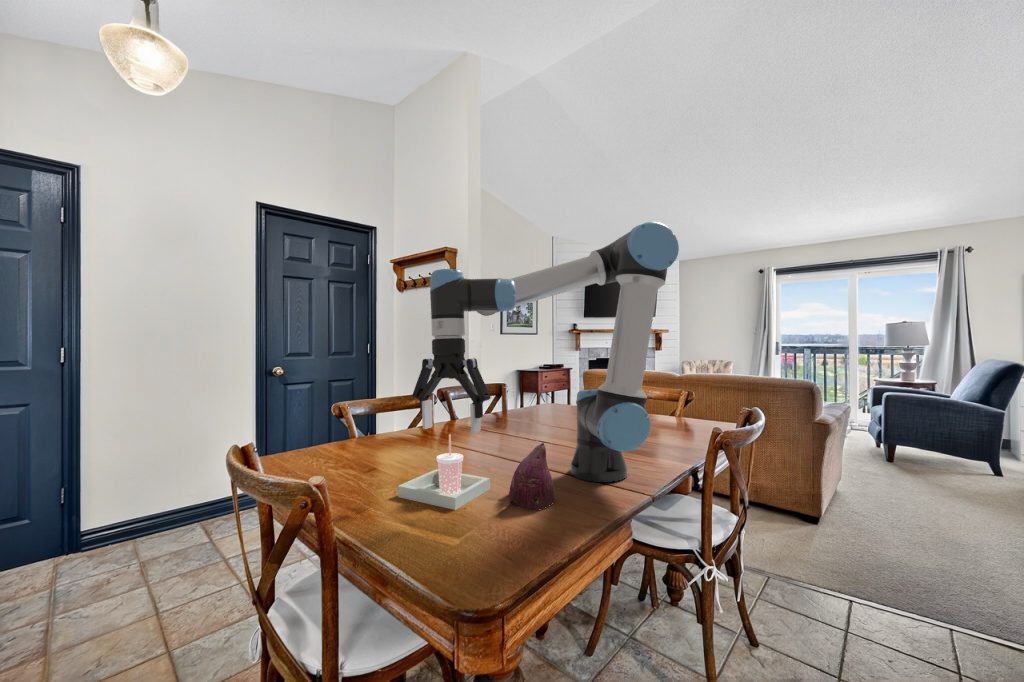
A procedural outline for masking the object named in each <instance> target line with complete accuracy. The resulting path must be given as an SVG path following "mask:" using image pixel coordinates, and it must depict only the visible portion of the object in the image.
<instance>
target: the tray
mask: <svg viewBox="0 0 1024 682" xmlns="http://www.w3.org/2000/svg"><path fill="white" fill-rule="evenodd" d="M436 473H439V472H438V468H436V469H434V470H431V471H429V472H426V473H424V474H422V475H420V476H417V477H415V478H413V479H411V480H409V481H406V482H404V483H402V484H399V485H398V486H397V497H398V498H400V499H405V500H409V501H413V502H418V503H422V504H426V505H431V506H435V507H440V508H444V509H448V510H449V509H450V510H453V511H457V510H458V509H460V508H461V507H463V506H464V505H466V504H468V503H469V502H471V501H473V500H474V499H476V498H477V497H479V496H481V495H483V494H484V493H485V492H487V491H490V489H491V479H490V478H489V477H484V476H480V475H479V476H478V475H473V474H467V473H462V474H461V492H459V493H457V494H455V495H451V494H446V493H441V492H440V487H439V486H436V485H435V484H434V483H433V477H434V475H435V474H436Z"/></svg>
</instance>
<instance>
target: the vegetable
mask: <svg viewBox="0 0 1024 682" xmlns="http://www.w3.org/2000/svg"><path fill="white" fill-rule="evenodd" d="M547 462H548V461H547V449H546V445H545V442H542V443H540V444H538V445H536V446H535V447H534V448H533V449H532V450H531V452H529V454H527V455H526V456H525V457H524V458H523V459H522V460H521V462H520V463H519V464H518V465H517V467H516V469H515V470H514V473H513V476H512V478H511V482H510V486H509V492H508V498H509V499H510V501H509V503H510V504H511V505H512V506H513V507H515V508H517V507H518V509H521V508H522V509H521V510H525V509H526V511H534V510H535V511H540V510H539V509H542V510H544V509H543V508H545V507H548V506H549V505H551V504H552V503H553V502H554V501H555V490H554V489H555V488H554V482H553V479H552V475H551V472H550V469H549V466H548V463H547ZM554 503H555V502H554ZM554 503H553V504H554ZM551 506H552V505H551ZM549 507H550V506H549ZM549 507H548V508H549ZM545 509H546V508H545Z"/></svg>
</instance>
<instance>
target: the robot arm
mask: <svg viewBox="0 0 1024 682" xmlns="http://www.w3.org/2000/svg"><path fill="white" fill-rule="evenodd" d="M679 245H680V244H679V241H678V238H677V237H676V234H675V233H674V232H673V230H672V229H671V228H670V227H668V226H667V225H666V224H664V223H661V222H658V221H647V222H644V223H642V224H638V225H636V226H635V227H633V228H632V229H631V230H630V231H629V232H627V233H625V234H624V235H622V236H620V237H618V238H617V239H615V240H614V241H613V242H611V243H610V244H607V245H606V246H604V247H601V248H599V249H595V250H592V251H591V252H590V253H589V255H588V256H584V257H582V258H578V259H574V260H570V261H567V262H564V263H561V264H558V265H554V266H550V267H547V268H543V269H540V270H536V271H533V272H530V273H526V274H522V275H518V276H515V277H512V278H501V277H498V278H472V279H471V278H465V277H464V273H463V271H462V270H459V269H457V268H456V269H454V268H453V269H452V268H441V269H436V270H433V271H432V273H431V274H430V283H429V284H430V289H429V297H430V317H431V318H430V319H431V336H432V337H433V338H434V339H432V340H431V353H432V355H433V359H432V358H423V359H422V362H421V363H422V364H421V369H420V373H419V376H418V377H417V380H416V384H415V386H414V389H413V391H412V397H413V398H414V399H417V400H418V401H419V412H420V414H421V416H422V418H421V419H422V420H421V421H422V429H423V430H427V429H430V428H433V400H432V399H431V396H432V394H433V393H434V391H435V390H436V388H437V387H438V385H439V384H440V382H441V380H442V379H449V380H450V379H455V380H456V381H458V383H459V385H460V386H461V388H463V390H464V391H465V393H466V394H467V395H468V397H469V399H470V400H471V402H472V403H470V407H469V409H470V410H469V411H470V434H471V435H474V434H477V433H480V432H481V418H483V416H484V411H483V410H484V408H483V407H484V405H483V404H484V402H486V401H489V400H490V399H491V394H490V392H489V390H488V388H487V386H486V383H485V381H484V378H483V377H482V374H481V373H480V370H479V367H478V359H477V358H475V357H473V358H467V359H465V358H466V357H465V354H466V339H465V338H463V337H464V336H465V334H466V331H465V326H466V325H465V312H476V313H478V314H480V315H481V316H484V317H485V316H486V317H487V316H488V317H489V316H492V315H495V314H497V313H499V312H506V311H507V312H508V311H509V312H510V311H512V310H514V309H515V308H516V307H520V306H523V305H525V304H529V303H533V302H536V301H539V300H543V299H547V298H550V297H553V296H556V295H557V296H558V295H560V294H564V293H568V292H571V291H573V290H577V289H580V288H584V287H588V286H592V285H595V284H597V285H598V286H604V285H607V284H611V283H616V282H617V283H618V284H619V285H620V287H619V288H620V289H619V295H618V302H617V307H616V314H615V319H614V327H613V334H612V337H611V338H612V339H611V344H610V352H609V356H608V357H609V358H608V363H607V369H606V375H605V376H606V377H605V382H604V383H602V384H601V385H600V386H598V387H597V389H582V390H579V391H578V392H577V394H576V401H575V405H576V447H575V450H574V453H573V456H572V460H571V462H570V474H571V475H572V476H573V477H575V478H577V479H580V480H583V481H587V482H594V483H595V482H596V483H612V481H615V482H619V481H618V480H620V481H623V480H624V478H625V479H626V478H627V477H628V465H627V463H626V460H625V459H626V458H625V456H624V453H626V452H628V453H629V452H632V451H635V450H637V449H638V448H640V447H641V446H643V445H644V443H646V441H647V440H648V438H649V436H650V433H651V428H652V422H651V418H650V417H651V416H650V415H649V413H648V412H647V410H646V408H647V400H648V396H647V394H646V393H645V391H644V390H643V382H644V375H645V368H646V365H647V357H648V350H649V344H650V339H651V338H650V337H651V332H652V325H653V319H654V313H655V306H656V300H657V294H658V293H657V292H658V290H659V289H660V288H661V287H663V286H665V285H666V279H667V274H668V268H670V267H671V266H672V265H673V264H674V263H675V262H676V259H677V258H678V255H679V251H680V247H679ZM433 368H434V371H433ZM465 368H466V369H467V371H466V370H465ZM467 372H468V373H467ZM469 377H470V378H469ZM622 479H623V480H622Z"/></svg>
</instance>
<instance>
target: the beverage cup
mask: <svg viewBox="0 0 1024 682" xmlns="http://www.w3.org/2000/svg"><path fill="white" fill-rule="evenodd" d="M463 461H464V455H463V454H461V453H459V452H458V453H457V452H452V435H451V433H449V434H448V452H447V453H446V452H445V453H441V454H439V455H437V456H436V462H437V466H438V467H437V469H438V472H439V487H440V492H441V493H446V494H451V495H455V494H457V493H459V492H461V474H463V473H462V471H463V470H462V469H463Z"/></svg>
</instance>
